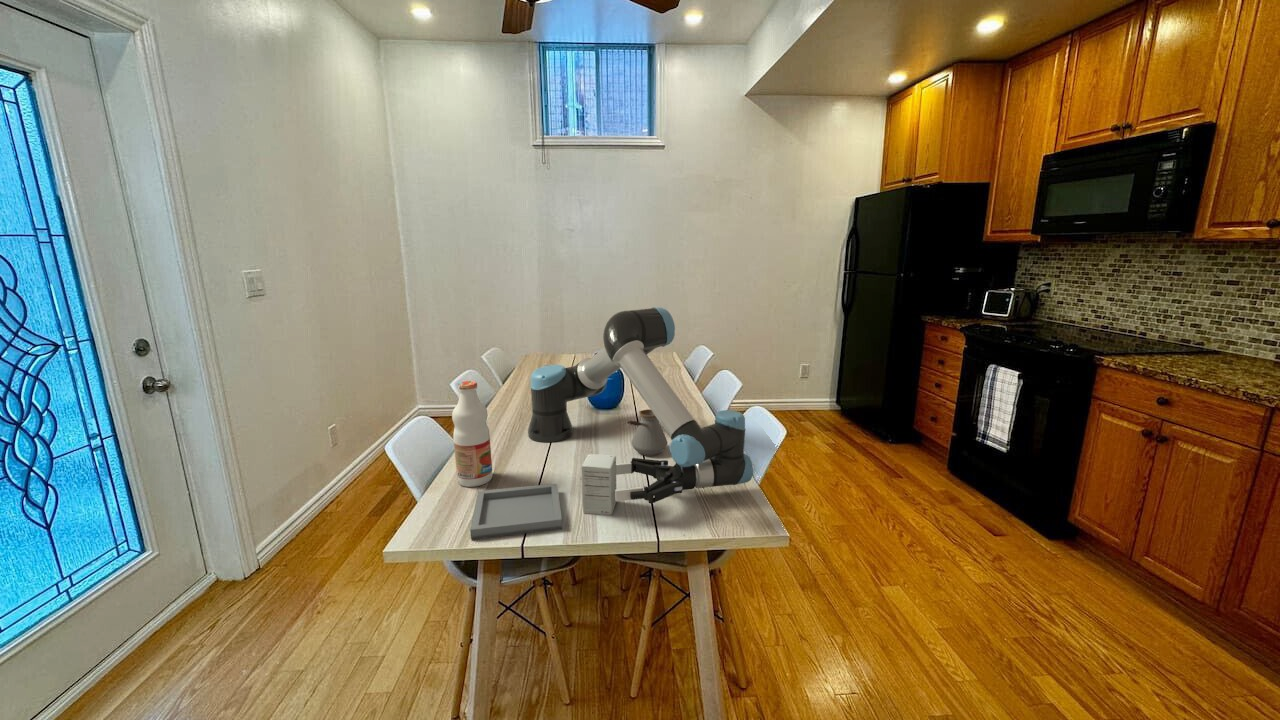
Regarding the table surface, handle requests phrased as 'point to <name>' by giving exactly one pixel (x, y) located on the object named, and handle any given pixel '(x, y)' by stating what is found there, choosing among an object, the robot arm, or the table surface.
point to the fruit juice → (471, 438)
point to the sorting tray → (516, 511)
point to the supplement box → (599, 484)
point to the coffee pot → (648, 435)
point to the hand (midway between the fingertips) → (610, 482)
